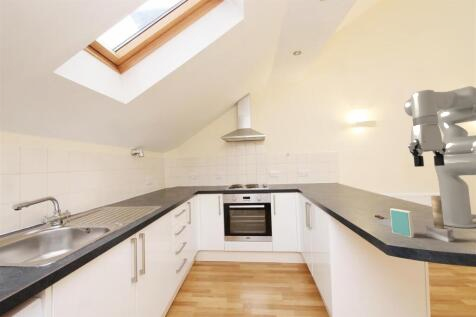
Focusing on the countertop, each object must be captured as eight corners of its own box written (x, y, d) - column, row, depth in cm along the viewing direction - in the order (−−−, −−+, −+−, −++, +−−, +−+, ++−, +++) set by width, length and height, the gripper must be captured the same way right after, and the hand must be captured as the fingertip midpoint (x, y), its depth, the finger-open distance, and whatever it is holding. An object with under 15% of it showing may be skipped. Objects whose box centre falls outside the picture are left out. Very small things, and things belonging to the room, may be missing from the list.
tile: (394, 231, 94) (392, 208, 95) (414, 237, 86) (411, 211, 87) (391, 232, 94) (389, 208, 94) (410, 237, 86) (408, 211, 87)
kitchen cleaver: (363, 216, 124) (381, 214, 123) (363, 217, 124) (382, 216, 123) (387, 228, 100) (411, 226, 99) (388, 230, 100) (411, 228, 99)
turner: (433, 235, 87) (428, 194, 88) (454, 240, 80) (449, 196, 81) (427, 236, 86) (423, 195, 87) (448, 241, 79) (443, 197, 80)
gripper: (432, 124, 92) (436, 165, 91) (398, 124, 89) (402, 167, 87) (453, 120, 85) (458, 165, 84) (416, 120, 81) (421, 166, 80)
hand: (429, 166), depth 85 cm, fingers open, 9 cm apart
